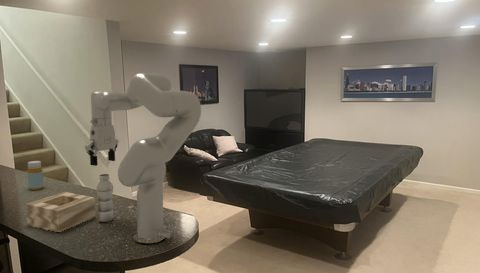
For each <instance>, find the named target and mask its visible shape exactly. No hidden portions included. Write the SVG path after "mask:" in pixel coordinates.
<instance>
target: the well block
mask: <svg viewBox="0 0 480 273" xmlns="http://www.w3.org/2000/svg"><path fill="white" fill-rule="evenodd" d="M95 201H96V199H95V197H93V196H89V195H83V194H79V193H72V192H68V191H67V192H66V191H63V192H59V193H57V194H54V195H50V196H46V197H44V198H40V199H37V200H33V201H31V202H28V203H25V213H26V225H27V226H29V227H33V228H36V227H37V229H40V228H42V229H41V230H44V229H45V231H48V230H50V231H49V232H52V231H54V232H53V233H56V232H61V233H63V232H65V231H67V230H66V229H68V230H70V229H72V228H75V227H77V226H79V225H81V224H83V223H82V222H84V223H85V221H86V222H88V221H90V220H93V219H94V217H95V218H96V208H95V207H96V206H95V205H96V204H95V203H96V202H95ZM92 218H93V219H92ZM87 220H88V221H87ZM80 223H81V224H80ZM78 224H79V225H78ZM76 225H77V226H76ZM71 227H72V228H71ZM69 228H70V229H69ZM64 230H65V231H64ZM62 231H63V232H62Z"/></svg>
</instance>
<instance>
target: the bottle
mask: <svg viewBox="0 0 480 273" xmlns="http://www.w3.org/2000/svg"><path fill="white" fill-rule="evenodd" d="M43 172H44V171H43V168H42V161H41V160H32V161H27V186H28V190H29V191H40V190H42V189H43V188H44V173H43Z"/></svg>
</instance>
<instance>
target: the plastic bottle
mask: <svg viewBox="0 0 480 273" xmlns="http://www.w3.org/2000/svg"><path fill="white" fill-rule="evenodd" d="M95 189H96V194H97V200H98V201H97V204H98V205H97V206H98V207H97V214H96V219H97V221H99V222H100V223H106V222H110V221H113V219H114V216H115V212H114V207H113V206H114V205H113V192H114V185H113V183H112V182H111V181H110V174H109V173H102V174H100V175H99V182H98V183H97V185H96V188H95Z"/></svg>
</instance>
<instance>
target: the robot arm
mask: <svg viewBox="0 0 480 273" xmlns="http://www.w3.org/2000/svg"><path fill="white" fill-rule="evenodd" d="M90 104H91V105H90V106H91V109H90V110H91V120H90V124H91V126H90V131H89V132H90V133H89V142H88V143H87V144H86V145H84V150H85V151H86V154H88V156H89V162H90V163H89V164H90V165H91V166H94V167H95V166H98V155H97V154H98V152H102V151H106V150H107V158H108V159H107V160H108V161H109V162H115V161H116V151H117V148H118V146H119V142H120V141H119V139H117V138H116V130H115V127H114V124H113V123H112V122H113V120H112V119H113V118H112V115H113V114H112V113H113V112H116V111H129V110H134V109H137V108H139V107H142V106H143V107H145V108H146V109H147V110H148V112H150V113H152V114H153V115H154V116H156V117H158V118H171V119H170V121H168V122H167V123H166V124H165V125H164V126H163V128H162V130H161V131H160V132H159V133H158V134H157V135H156V136H153V137H148V138H141V139H139V140H137V141H135V142H134V143H133V144H132V145H131V146H130V148H129V150H128V151H127V153H126V154H125V156H124V157H123V159H122V160H121V162H120V164H119V167H118V169H117V177H118V178H117V179H118V181H119V182H120V183H121V185H123V186H124V187H129V188H132V187H133V188H134V187H137V186H138V187H137V191H136V219H137V220H136V221H137V227H136V228H137V232H138V237H140V238H144V239H147V238H158V237H160V238H161V237H164V238H166V239H168V238H169V237H170V238H171V235H172V230H168V229H167V225H165V224H164V180H165V174H166V167H167V166H166V163H167V162H170V161H171V160H172V159H173V158H174V156H175V154H176V153H177V152H178V151H179V150H180V148H181V147H182V146H183V145H184V143H185V141H186V140H187V138H189V136H190V135H191V133H193V131H194V130H195V129H196V127H197V126H198V124H199V121H200V119H201V114H202V106H201V101H200V99H199V97H198V96H197V95H196V94H195V93H193V92H190V91H188V90H187V91H185V90H172V82H171V80H170V79H169V77H168V76H166V75H164V74H160V73H152V72H151V73H148V72H140V73H136V74H135V75H133V76H132V77H131V78H130V81H129V84H128V85H127V88H126V91H123V90H122V91H104V90H103V91H100V90H97V91H92V92H91V94H90ZM170 238H169V239H170Z"/></svg>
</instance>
